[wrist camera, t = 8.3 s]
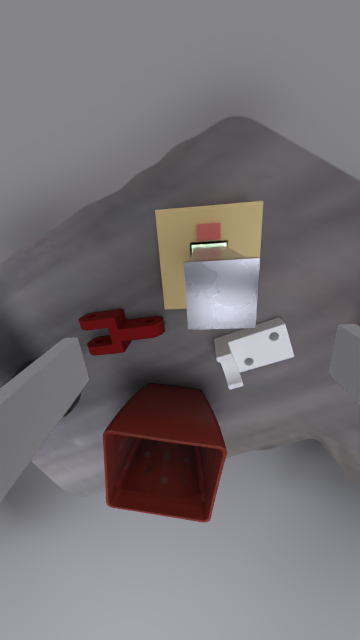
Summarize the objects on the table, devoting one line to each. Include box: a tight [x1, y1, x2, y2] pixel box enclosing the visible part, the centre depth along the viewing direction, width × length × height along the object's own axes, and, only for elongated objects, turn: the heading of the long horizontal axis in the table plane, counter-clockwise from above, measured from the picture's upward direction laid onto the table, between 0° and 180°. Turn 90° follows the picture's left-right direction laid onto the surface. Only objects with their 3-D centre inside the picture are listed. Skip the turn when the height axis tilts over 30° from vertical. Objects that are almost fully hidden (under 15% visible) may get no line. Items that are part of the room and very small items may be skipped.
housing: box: [155, 201, 263, 309], centre depth 34 cm, size 14×14×10 cm
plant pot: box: [103, 383, 227, 522], centre depth 44 cm, size 19×19×17 cm
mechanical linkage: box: [79, 309, 165, 355], centre depth 43 cm, size 16×7×5 cm, turn 99°
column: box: [184, 243, 260, 330], centre depth 23 cm, size 5×5×21 cm
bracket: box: [214, 317, 294, 390], centre depth 41 cm, size 13×7×8 cm, turn 113°
